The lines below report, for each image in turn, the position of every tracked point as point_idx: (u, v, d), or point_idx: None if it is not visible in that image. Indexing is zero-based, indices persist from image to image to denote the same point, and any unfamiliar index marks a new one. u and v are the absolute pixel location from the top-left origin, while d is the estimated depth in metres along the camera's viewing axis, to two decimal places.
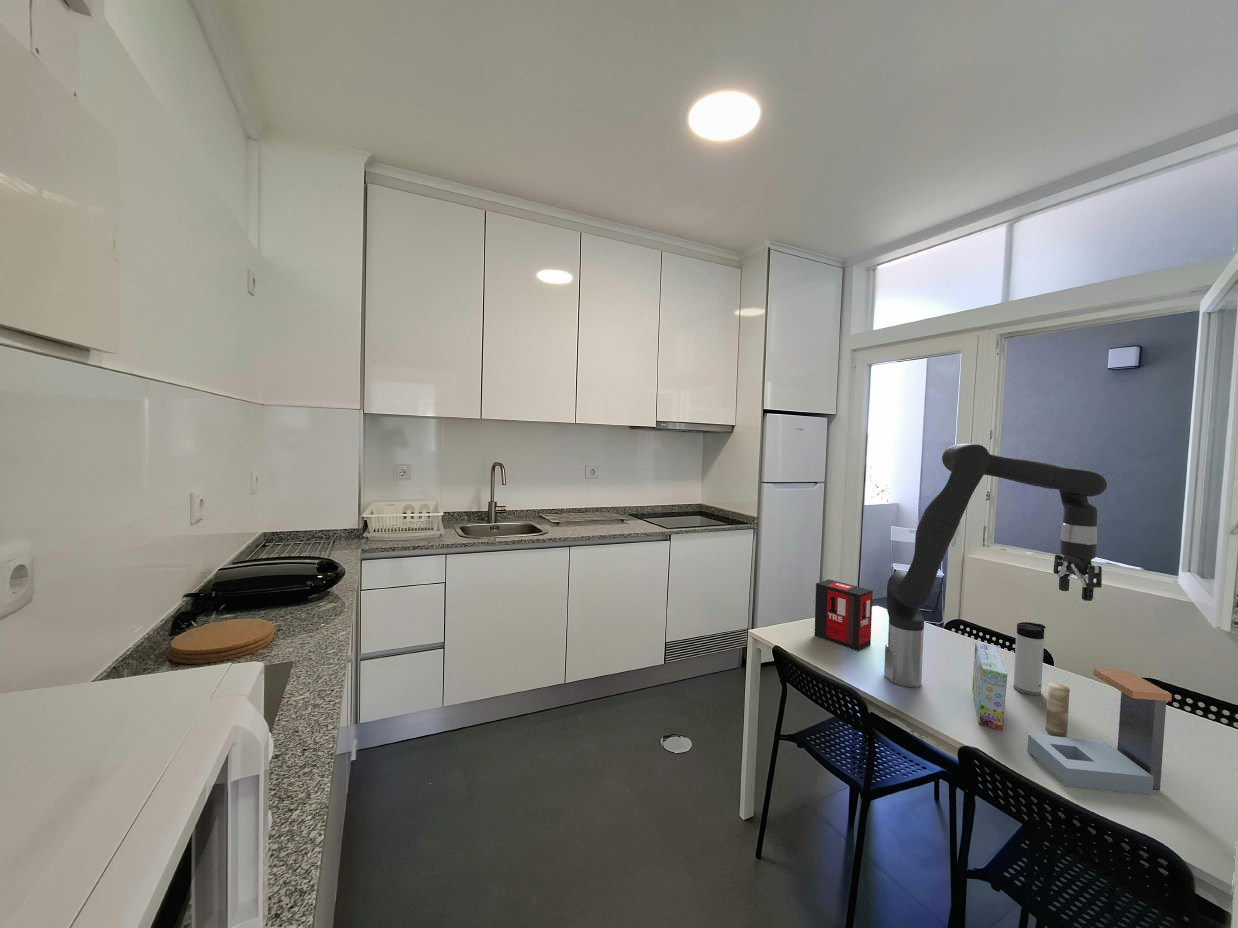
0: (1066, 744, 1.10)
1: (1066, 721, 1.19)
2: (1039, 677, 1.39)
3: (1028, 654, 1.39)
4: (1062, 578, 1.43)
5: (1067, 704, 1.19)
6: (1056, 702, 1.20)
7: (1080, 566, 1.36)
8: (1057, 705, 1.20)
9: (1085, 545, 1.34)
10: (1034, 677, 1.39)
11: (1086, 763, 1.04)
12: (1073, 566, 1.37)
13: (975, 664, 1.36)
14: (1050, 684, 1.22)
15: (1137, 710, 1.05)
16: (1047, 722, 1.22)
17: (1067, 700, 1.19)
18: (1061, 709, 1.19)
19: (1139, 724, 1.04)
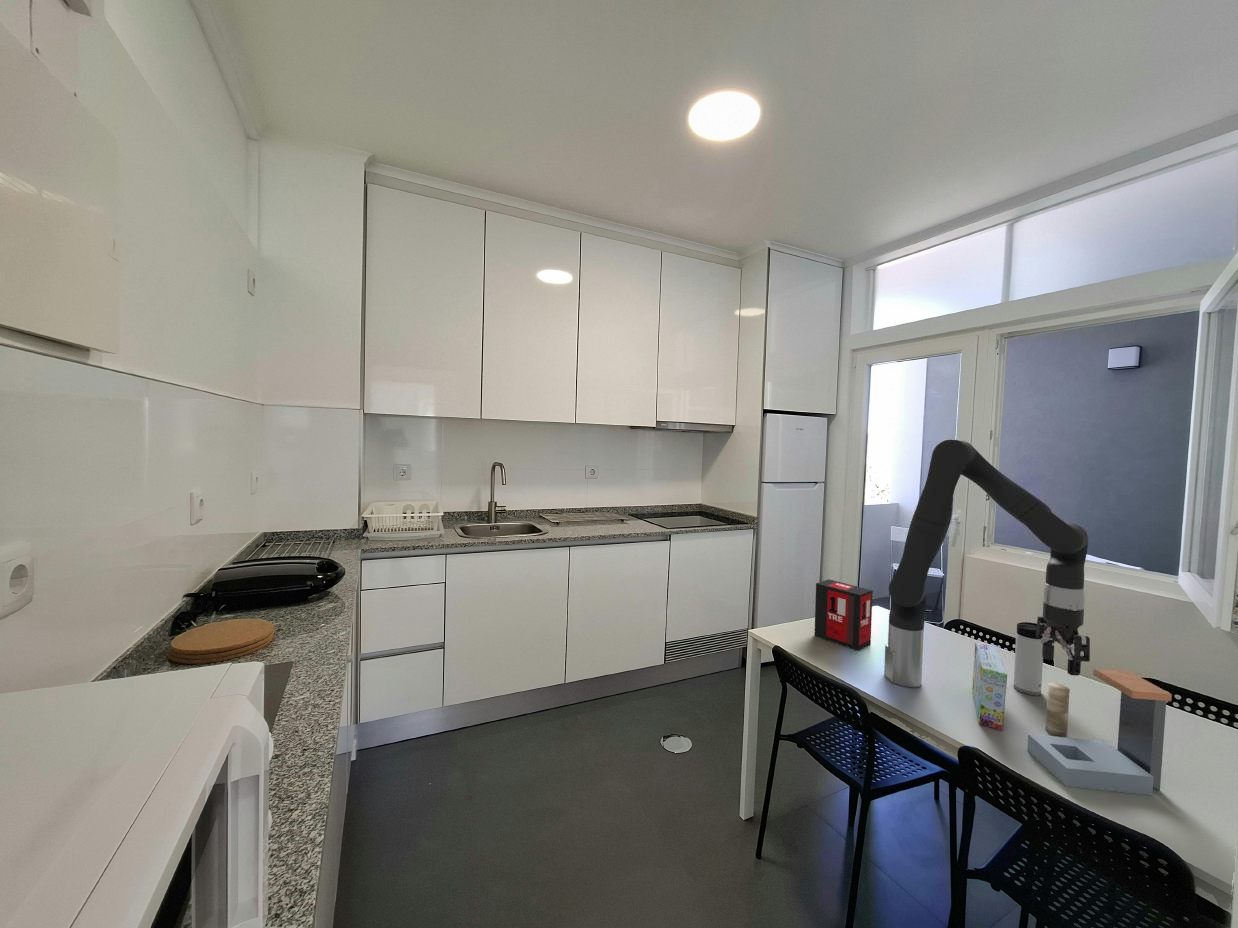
0: (1066, 744, 1.10)
1: (1066, 721, 1.19)
2: (1039, 677, 1.39)
3: (1028, 654, 1.39)
4: (1046, 644, 1.25)
5: (1067, 704, 1.19)
6: (1056, 702, 1.20)
7: (1065, 634, 1.18)
8: (1057, 705, 1.20)
9: (1071, 611, 1.16)
10: (1034, 677, 1.39)
11: (1086, 763, 1.04)
12: (1057, 634, 1.19)
13: (975, 664, 1.36)
14: (1050, 684, 1.22)
15: (1137, 710, 1.05)
16: (1047, 722, 1.22)
17: (1067, 699, 1.19)
18: (1061, 709, 1.19)
19: (1139, 724, 1.04)
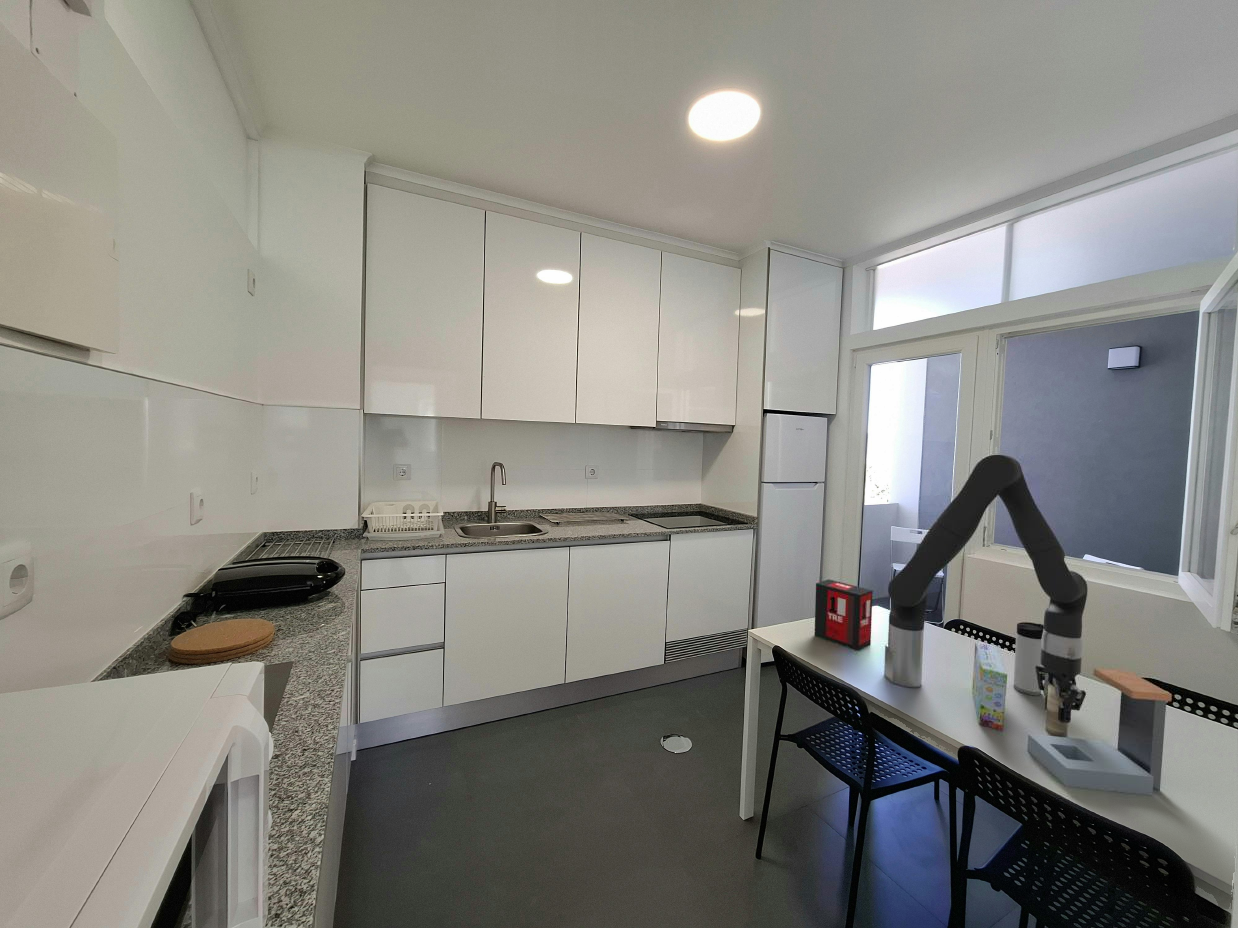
0: (1066, 744, 1.10)
1: None
2: None
3: (1028, 654, 1.39)
4: None
5: None
6: (1056, 702, 1.20)
7: (1062, 682, 1.18)
8: (1057, 705, 1.20)
9: (1068, 659, 1.17)
10: (1034, 677, 1.39)
11: (1086, 763, 1.04)
12: (1055, 681, 1.19)
13: (975, 664, 1.36)
14: (1050, 684, 1.22)
15: (1137, 710, 1.05)
16: (1047, 722, 1.22)
17: None
18: None
19: (1139, 724, 1.04)
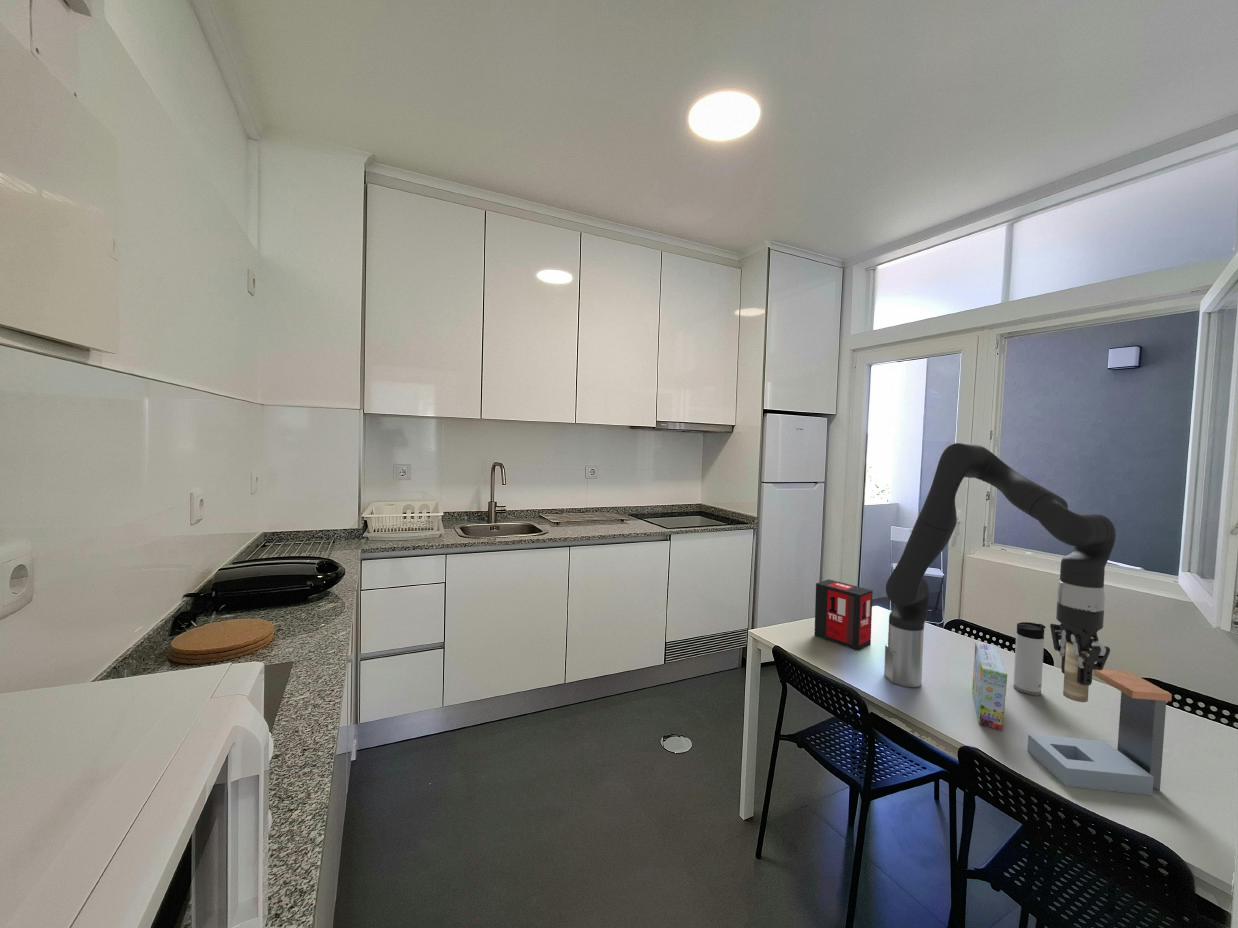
0: (1066, 744, 1.10)
1: None
2: (1039, 677, 1.39)
3: (1028, 654, 1.39)
4: None
5: None
6: (1075, 662, 1.05)
7: (1082, 638, 1.04)
8: (1077, 666, 1.05)
9: (1089, 612, 1.02)
10: (1034, 677, 1.39)
11: (1086, 763, 1.04)
12: (1073, 638, 1.05)
13: (975, 664, 1.36)
14: (1068, 642, 1.07)
15: (1137, 710, 1.05)
16: (1065, 686, 1.07)
17: None
18: None
19: (1139, 724, 1.04)
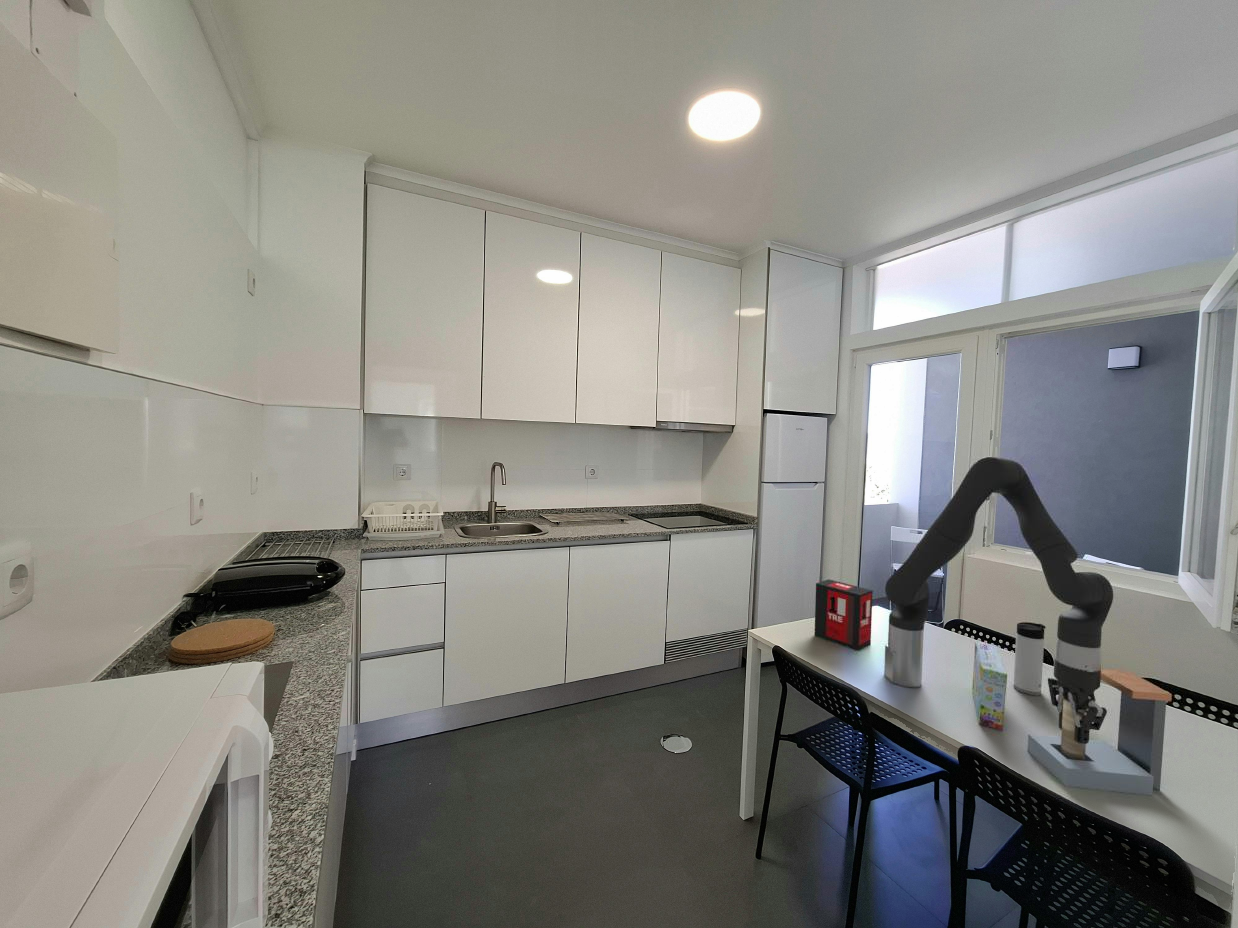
0: None
1: None
2: (1039, 677, 1.39)
3: (1028, 654, 1.39)
4: None
5: None
6: (1072, 720, 1.06)
7: (1079, 697, 1.04)
8: (1074, 724, 1.06)
9: (1086, 672, 1.03)
10: (1034, 677, 1.39)
11: (1086, 763, 1.04)
12: (1071, 696, 1.06)
13: (975, 664, 1.36)
14: (1065, 699, 1.08)
15: (1137, 710, 1.05)
16: (1062, 742, 1.08)
17: None
18: None
19: (1139, 724, 1.04)
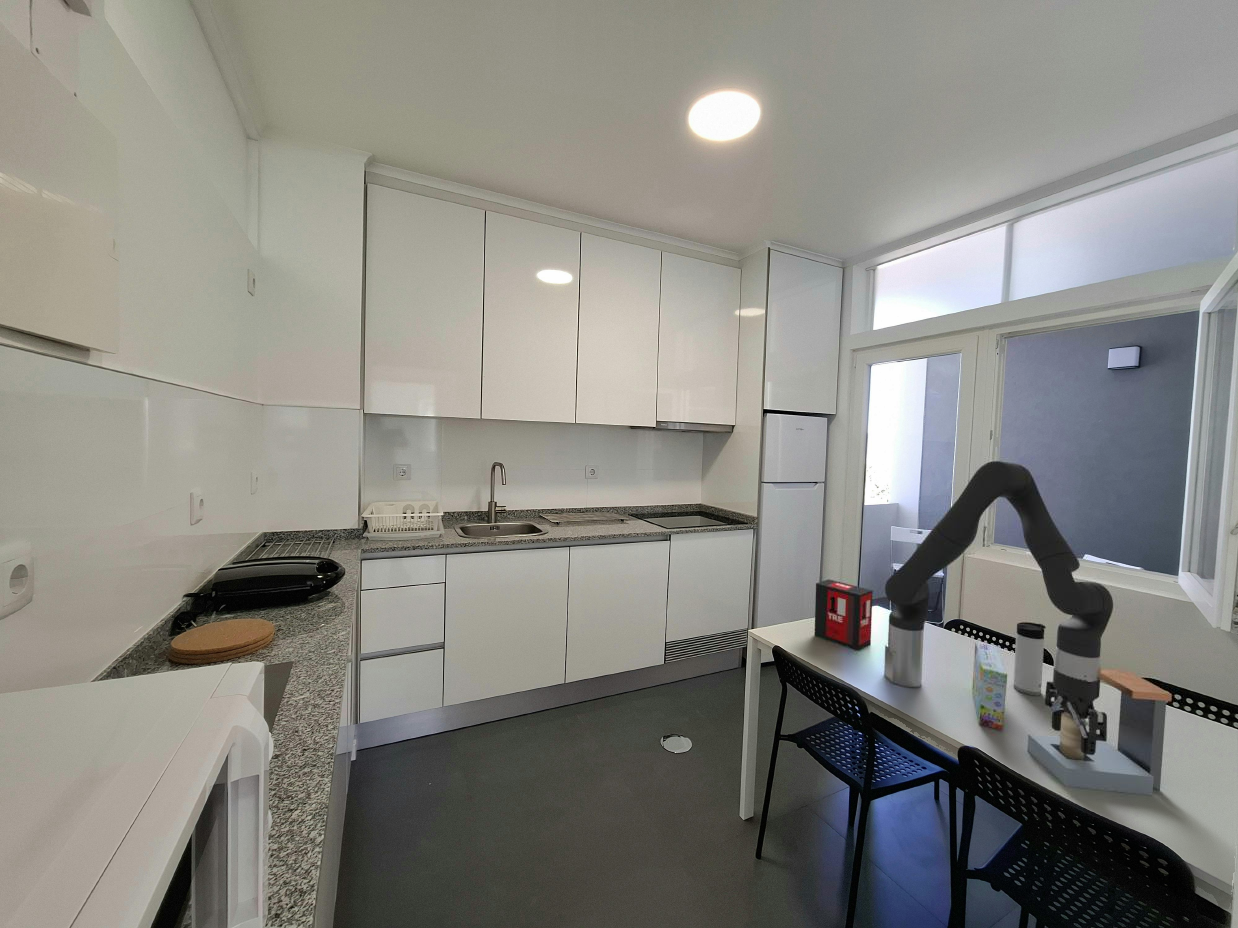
0: None
1: (1082, 757, 1.06)
2: (1039, 677, 1.39)
3: (1028, 654, 1.39)
4: (1056, 714, 1.11)
5: None
6: (1070, 735, 1.06)
7: (1078, 707, 1.04)
8: (1072, 739, 1.06)
9: (1085, 682, 1.03)
10: (1034, 677, 1.39)
11: (1086, 763, 1.04)
12: (1070, 706, 1.06)
13: (975, 664, 1.36)
14: (1064, 714, 1.08)
15: (1137, 710, 1.05)
16: None
17: None
18: (1077, 743, 1.06)
19: (1139, 724, 1.04)
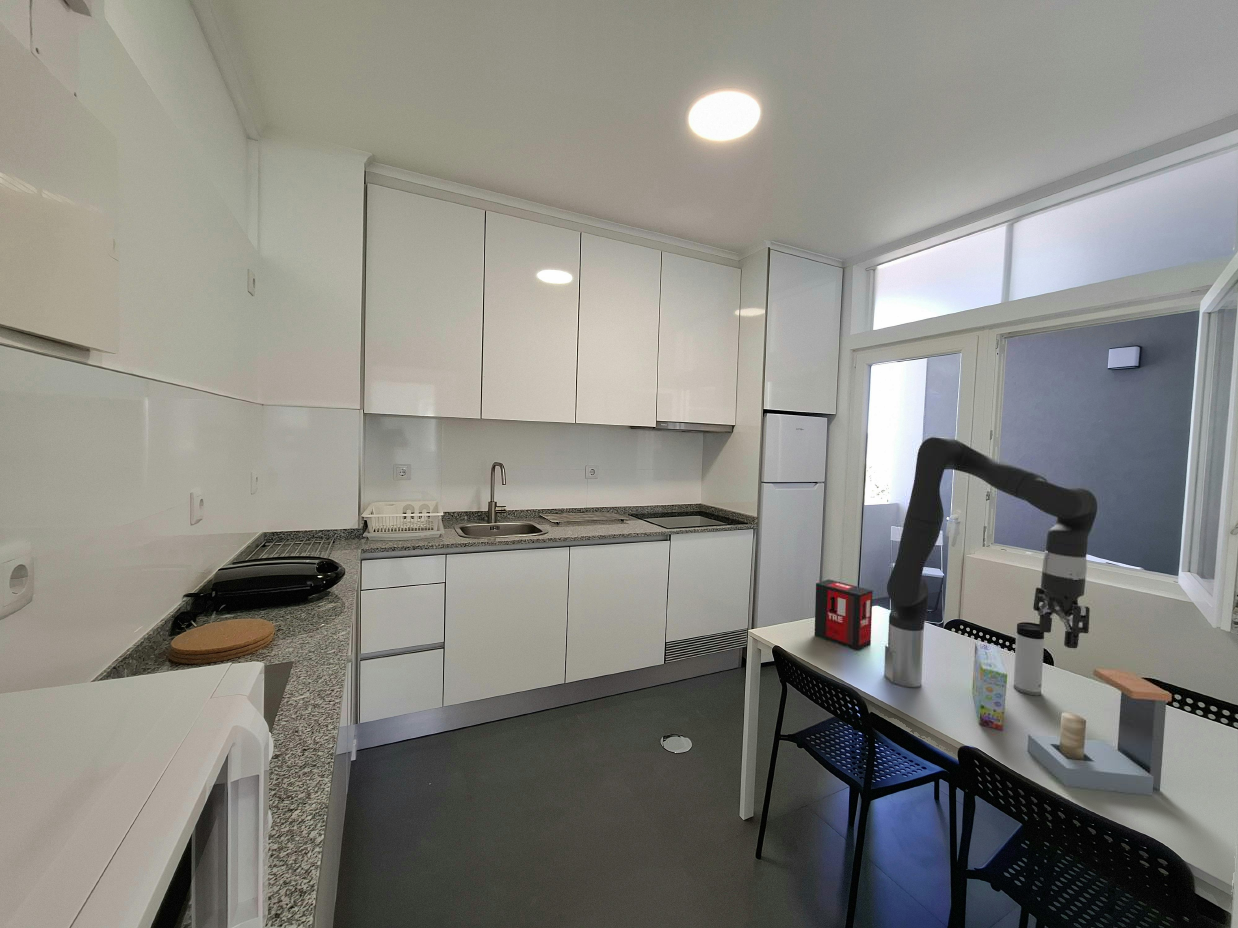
0: None
1: (1082, 757, 1.06)
2: (1039, 677, 1.39)
3: (1028, 654, 1.39)
4: (1043, 617, 1.17)
5: (1083, 738, 1.06)
6: (1070, 735, 1.06)
7: (1064, 604, 1.10)
8: (1072, 739, 1.06)
9: (1071, 580, 1.09)
10: (1034, 677, 1.39)
11: (1086, 763, 1.04)
12: (1055, 604, 1.12)
13: (975, 664, 1.36)
14: (1064, 714, 1.08)
15: (1137, 710, 1.05)
16: None
17: (1083, 733, 1.05)
18: (1077, 743, 1.06)
19: (1139, 724, 1.04)
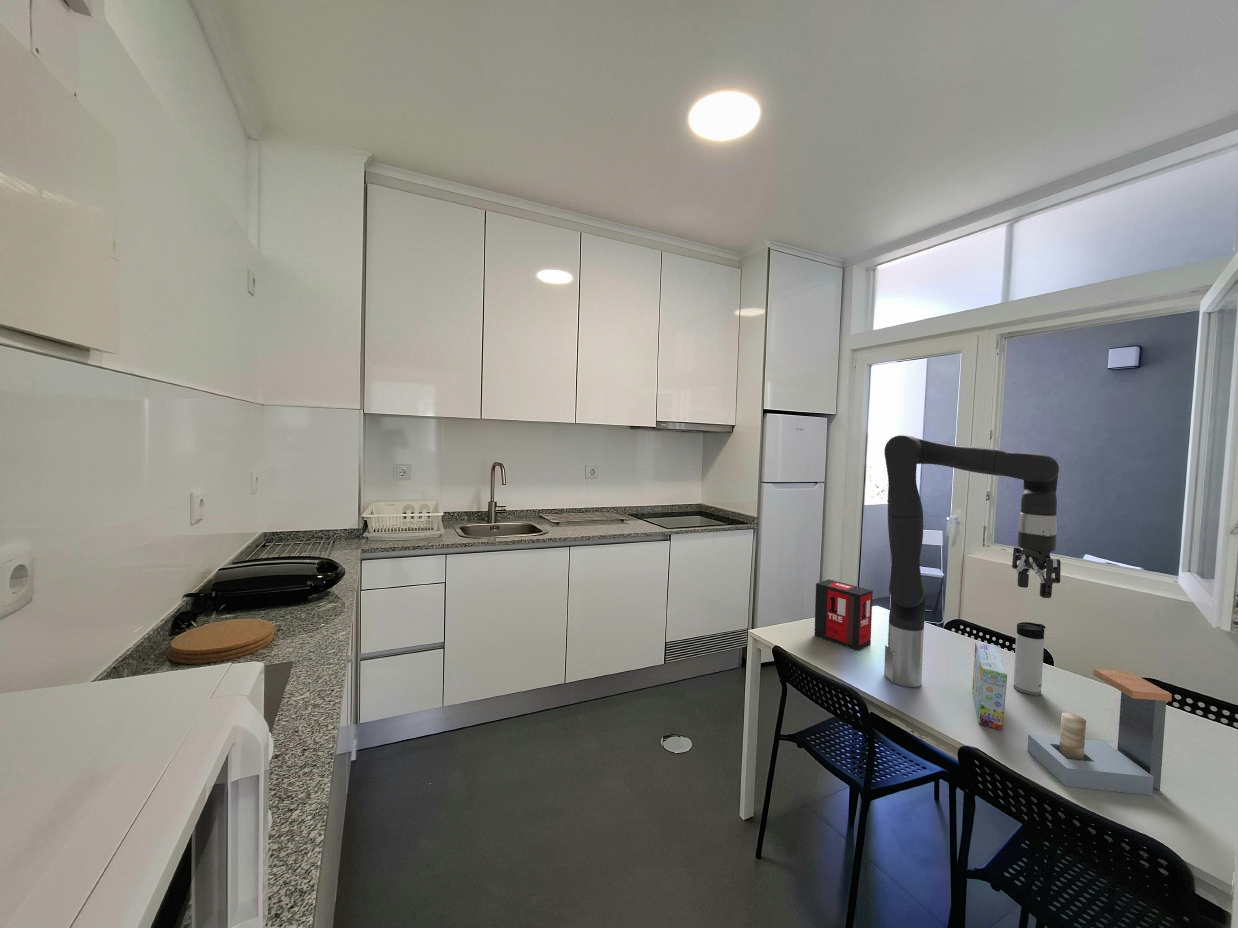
0: None
1: (1082, 757, 1.06)
2: (1039, 677, 1.39)
3: (1028, 654, 1.39)
4: (1021, 573, 1.30)
5: (1083, 738, 1.06)
6: (1070, 735, 1.06)
7: (1038, 559, 1.23)
8: (1072, 739, 1.06)
9: (1043, 536, 1.22)
10: (1034, 677, 1.39)
11: (1086, 763, 1.04)
12: (1031, 560, 1.24)
13: (975, 664, 1.36)
14: (1064, 715, 1.08)
15: (1137, 710, 1.05)
16: None
17: (1083, 733, 1.05)
18: (1077, 743, 1.06)
19: (1139, 724, 1.04)
